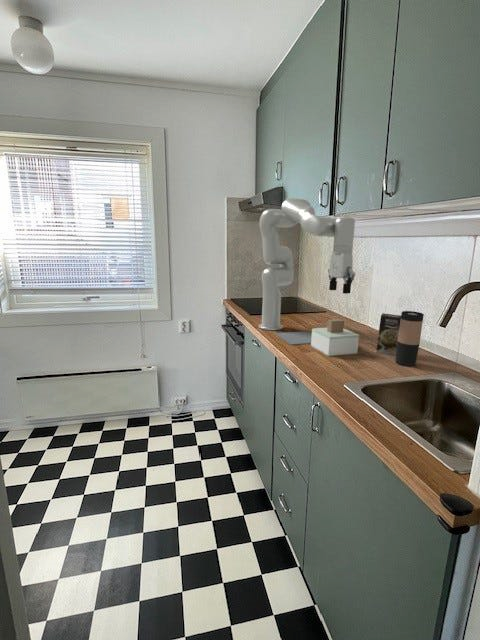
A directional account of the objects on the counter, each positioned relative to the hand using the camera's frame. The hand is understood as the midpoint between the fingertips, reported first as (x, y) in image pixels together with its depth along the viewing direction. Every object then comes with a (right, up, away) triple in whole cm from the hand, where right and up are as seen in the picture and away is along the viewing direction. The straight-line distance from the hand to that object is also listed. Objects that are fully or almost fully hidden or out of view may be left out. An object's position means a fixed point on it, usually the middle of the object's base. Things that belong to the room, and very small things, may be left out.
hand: (339, 291), depth 142 cm
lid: (-1, -18, +4) cm, 18 cm away
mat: (-12, -20, +22) cm, 32 cm away
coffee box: (+22, -26, +4) cm, 34 cm away
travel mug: (+23, -29, -9) cm, 38 cm away
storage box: (-1, -24, +6) cm, 25 cm away
